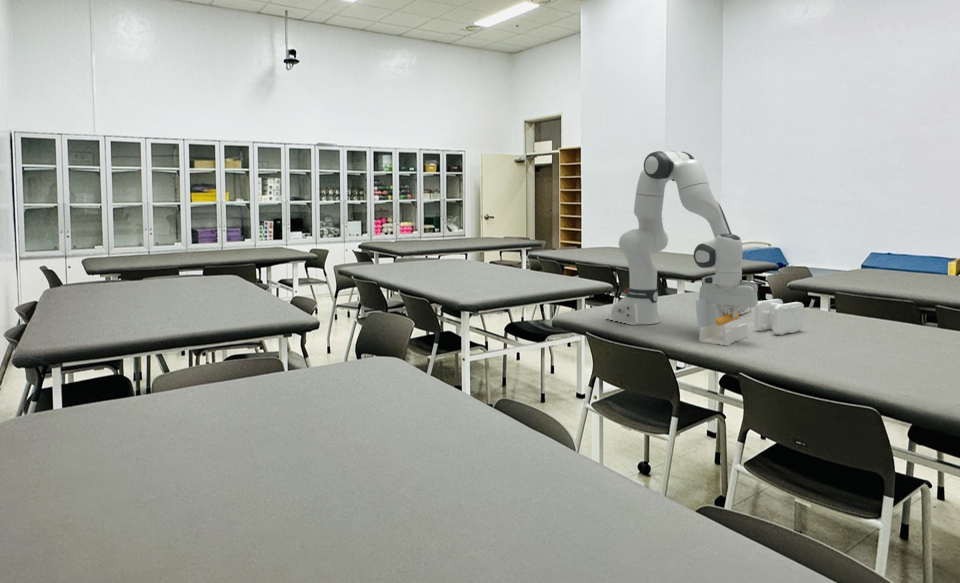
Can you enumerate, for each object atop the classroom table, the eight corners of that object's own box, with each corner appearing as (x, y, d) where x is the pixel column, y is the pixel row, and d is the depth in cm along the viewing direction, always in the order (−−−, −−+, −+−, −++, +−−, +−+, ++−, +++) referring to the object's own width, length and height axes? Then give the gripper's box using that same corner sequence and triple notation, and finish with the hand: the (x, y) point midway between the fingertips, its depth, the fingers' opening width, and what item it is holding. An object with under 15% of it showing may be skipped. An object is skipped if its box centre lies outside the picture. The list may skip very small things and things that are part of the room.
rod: (713, 325, 226) (713, 317, 226) (731, 318, 238) (732, 310, 237) (721, 326, 224) (722, 318, 224) (739, 319, 236) (740, 311, 235)
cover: (699, 328, 229) (697, 328, 229) (720, 320, 242) (718, 320, 242) (698, 301, 228) (695, 300, 228) (719, 294, 241) (716, 294, 241)
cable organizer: (779, 326, 251) (780, 297, 249) (803, 331, 242) (805, 301, 240) (753, 331, 244) (754, 301, 242) (777, 336, 235) (779, 305, 233)
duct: (699, 342, 230) (699, 328, 229) (720, 333, 243) (720, 320, 242) (726, 346, 223) (727, 332, 222) (746, 336, 236) (747, 323, 235)
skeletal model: (750, 310, 285) (754, 278, 266) (750, 328, 281) (753, 297, 261) (712, 308, 291) (713, 276, 271) (711, 325, 286) (711, 295, 267)
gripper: (761, 280, 224) (759, 318, 226) (705, 276, 238) (704, 312, 240) (754, 282, 219) (753, 321, 221) (697, 278, 233) (696, 315, 235)
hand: (727, 317), depth 231 cm, fingers closed on rod, 3 cm apart
